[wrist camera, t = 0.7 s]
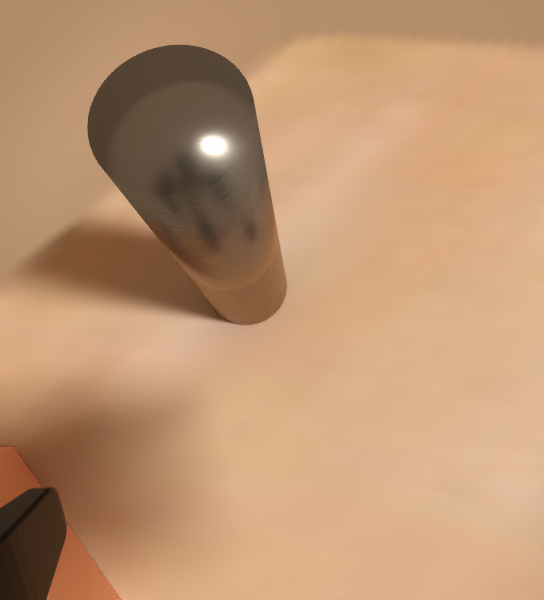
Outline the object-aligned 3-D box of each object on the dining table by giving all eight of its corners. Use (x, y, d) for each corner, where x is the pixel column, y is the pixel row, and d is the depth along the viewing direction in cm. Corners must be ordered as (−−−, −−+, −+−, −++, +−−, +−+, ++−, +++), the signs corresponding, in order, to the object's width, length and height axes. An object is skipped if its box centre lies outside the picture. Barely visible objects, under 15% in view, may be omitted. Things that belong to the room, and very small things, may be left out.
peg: (279, 330, 23) (236, 205, 10) (200, 318, 23) (67, 182, 11) (292, 254, 24) (268, 52, 11) (217, 243, 24) (111, 37, 12)
